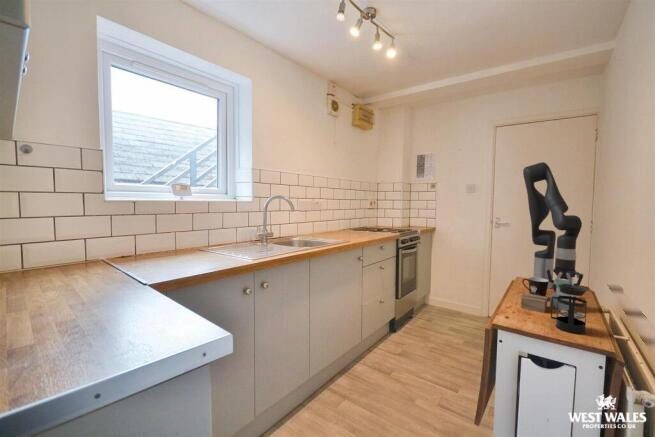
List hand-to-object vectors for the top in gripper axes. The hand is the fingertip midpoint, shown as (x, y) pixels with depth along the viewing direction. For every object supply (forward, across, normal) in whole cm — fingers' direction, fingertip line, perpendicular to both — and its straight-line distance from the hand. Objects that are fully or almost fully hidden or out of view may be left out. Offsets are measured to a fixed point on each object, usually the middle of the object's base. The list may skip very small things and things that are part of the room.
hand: (563, 293), depth 142 cm
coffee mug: (+7, -12, +8) cm, 16 cm away
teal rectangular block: (0, 0, 0) cm, 0 cm away
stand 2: (+7, 0, 0) cm, 7 cm away
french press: (+7, +4, -28) cm, 29 cm away
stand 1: (+7, -10, -10) cm, 16 cm away
